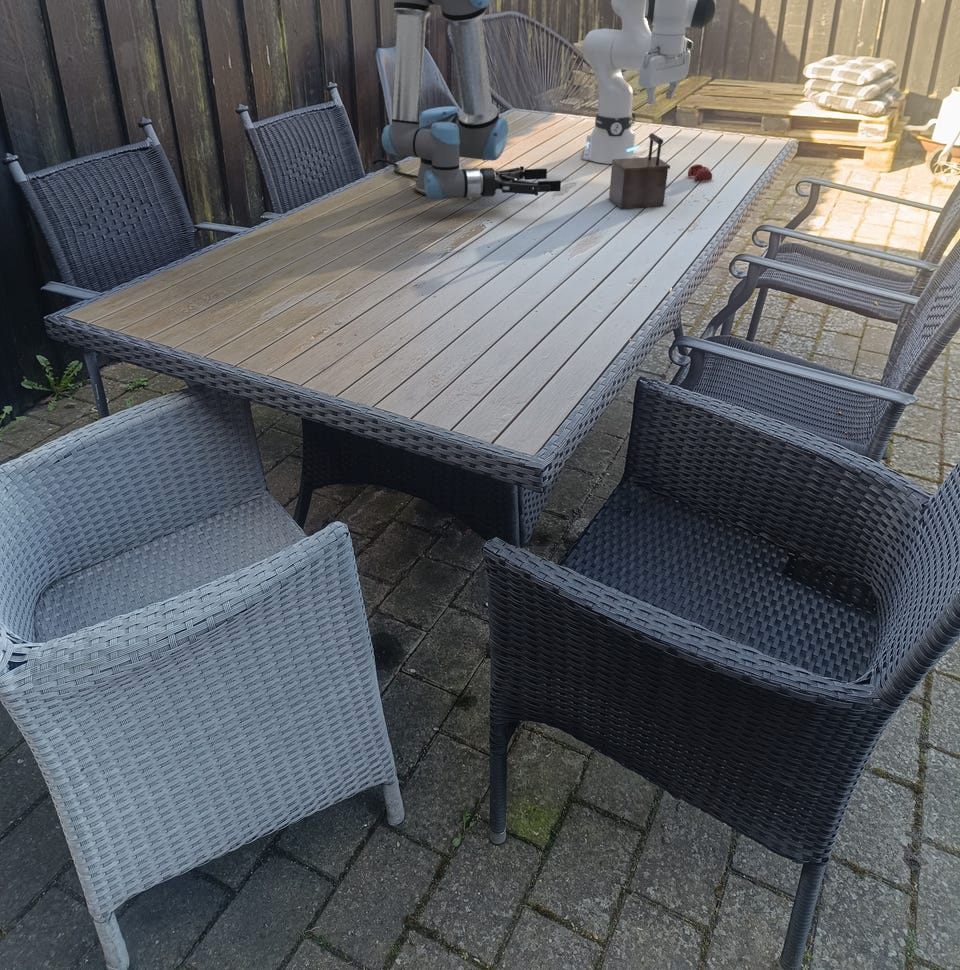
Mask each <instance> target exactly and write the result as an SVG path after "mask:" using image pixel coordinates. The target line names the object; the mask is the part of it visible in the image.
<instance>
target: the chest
mask: <svg viewBox="0 0 960 970" xmlns="http://www.w3.org/2000/svg"><path fill="white" fill-rule="evenodd" d="M610 171H611V173H610V184H609V194H608V195H609V196H608V200H610V201H611V202H612V203H613V204H614V205H616V206H617V207H618V208H619V209H620V210H625V209H639V208H654V207H663V206H664V203H665V196H666V195H665V194H666V190H667V189H666V188H667V181H668V172H669V169H657V170H641V171H626V172H624V171H623V170H622V169H621V168H619V167H618V166H617V165H615V164H614V163H613V162H612V164H611V170H610Z"/></svg>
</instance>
